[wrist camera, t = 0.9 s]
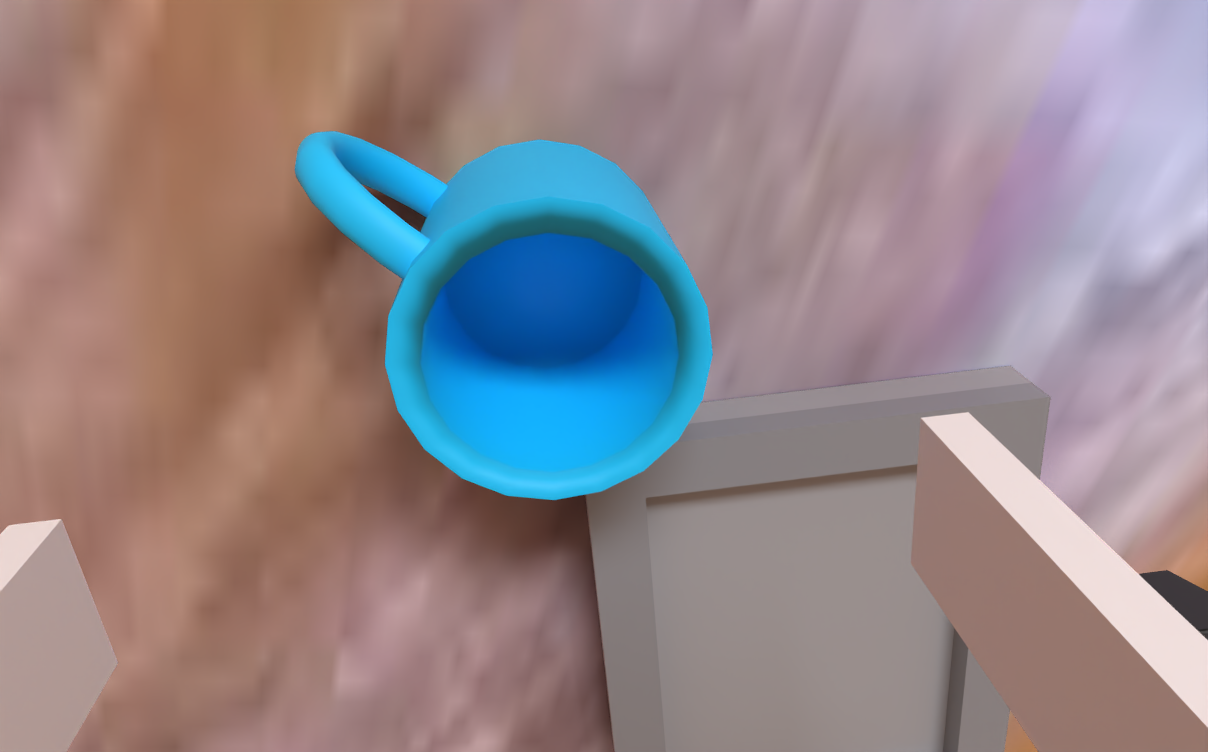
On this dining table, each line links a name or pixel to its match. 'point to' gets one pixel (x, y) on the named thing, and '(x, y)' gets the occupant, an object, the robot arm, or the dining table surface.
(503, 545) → the dining table surface
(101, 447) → the dining table surface
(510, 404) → the mug
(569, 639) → the dining table surface
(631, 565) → the tray
